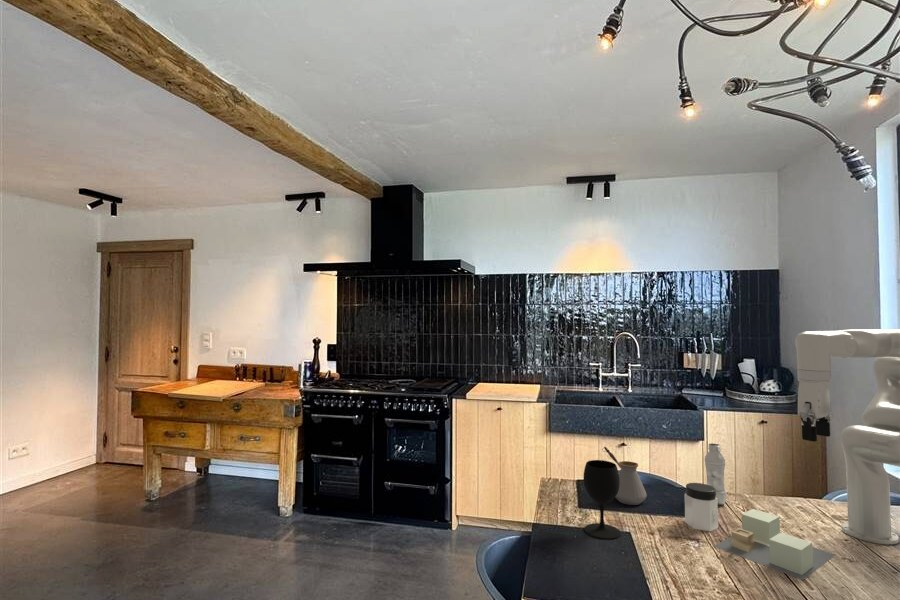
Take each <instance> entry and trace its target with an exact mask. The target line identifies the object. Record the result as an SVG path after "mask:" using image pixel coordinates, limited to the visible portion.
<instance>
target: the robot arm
mask: <svg viewBox="0 0 900 600" xmlns="http://www.w3.org/2000/svg"><path fill="white" fill-rule="evenodd" d="M794 346H795V349H796V368H797V381H798V383H799V384H798V389H797V391H798V393H797V415H798V416H799V417H800V420H801V437H802V440H803V441H809V442H814V443H815V442H817V441H818V436H822V437H830V436H831V423H830V422H831V419H830V414H831V397H830V395H831V394H830V387H829V384H831V383H832V364H831V362H832V361H831V359H847V358H850V359H853V358H854V359H855V358H856V359H865V358H866V359H867V358H870V359H871V358H875V359H874V361H873V367H872V369H873V373H874V378H875V382H876V387H877V390H876V393H875V395H874V396H873V398H871V399H872V400H870V402H869V404H868V405H867V407H866V408H865V409H864V410H863V411H864V412H863V413H862V416H861V422H862V424H863V425H861V424H859V425H858V424H857V425H856V424H855V425H848V426H847V427H844V428H843V430H842V431H841V433H840V444H841V447H842V451H843V456H844V460H845V461H844V462H845V471H846V472H845V473H846V497H847V522H844V523H842V524H841V530H842V531H843V532H844V533H846V534H847V535H849V536H850V537H853V538H856V539H858V540H862V541H865V542H869V543H873V544H877V545H878V544H879V545H889V544H891V545H896V544H898V543H899V542H900V536H899V535H897V534H896V533H895V532H893V531H892V514H891V512H892V511H891V492H890V491H891V490H890V489H891V488H890V477H889V474H888V472H887V471H886V469H885V467H884V465H882V464H885V465H889V466H893V467H900V329H893V328H892V329H891V328H890V329H884V328H883V329H881V328H879V329H878V328H875V329H874V328H873V329H871V328H870V329H868V328H867V329H861V328H860V329H843V330H842V329H841V330H823V331H822V330H814V331H813V330H812V331H809V330H806V331H803V332H799V333H798V334H797V335H796V337H795V341H794Z"/></svg>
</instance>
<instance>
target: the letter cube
mask: <svg viewBox="0 0 900 600" xmlns="http://www.w3.org/2000/svg"><path fill="white" fill-rule="evenodd" d="M730 534H731V536H732V547H735V548H738V549H740V550H743V551H746V552H749V551H750V550H752V549H754V533H752V532H749V531H746V530H743V529H742V528H739V527H737V528H736V529H733V530H731V533H730Z"/></svg>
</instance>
